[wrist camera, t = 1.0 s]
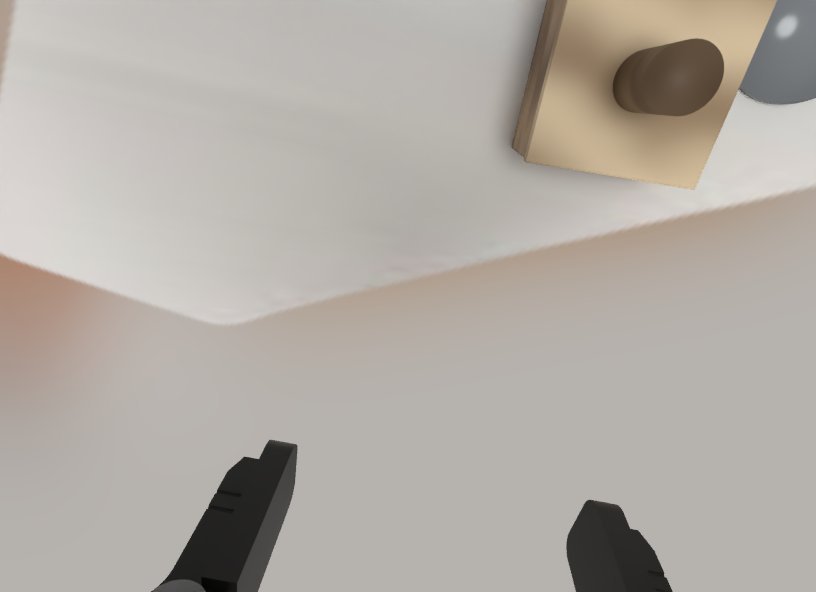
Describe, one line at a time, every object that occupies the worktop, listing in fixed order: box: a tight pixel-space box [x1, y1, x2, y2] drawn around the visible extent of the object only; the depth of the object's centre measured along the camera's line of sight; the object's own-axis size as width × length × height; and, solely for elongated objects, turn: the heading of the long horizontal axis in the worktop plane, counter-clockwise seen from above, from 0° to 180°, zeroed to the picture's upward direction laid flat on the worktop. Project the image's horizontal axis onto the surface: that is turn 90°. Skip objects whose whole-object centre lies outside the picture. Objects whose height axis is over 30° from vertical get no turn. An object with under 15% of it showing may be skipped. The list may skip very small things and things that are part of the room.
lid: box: [524, 0, 777, 190], centre depth 21 cm, size 10×10×6 cm
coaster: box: [739, 0, 816, 104], centre depth 26 cm, size 9×9×1 cm
